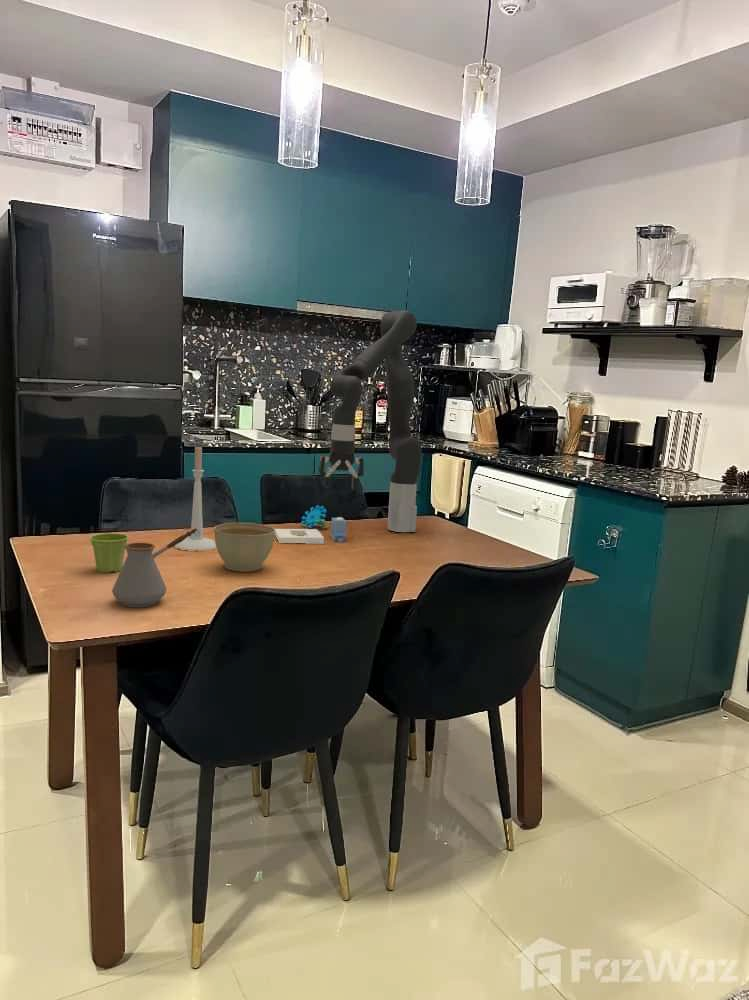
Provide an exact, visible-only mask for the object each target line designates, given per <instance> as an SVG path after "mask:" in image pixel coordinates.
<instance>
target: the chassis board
mask: <svg viewBox="0 0 749 1000" xmlns="http://www.w3.org/2000/svg"><path fill="white" fill-rule="evenodd" d="M274 529H275V535H276V537H277V539H278V541H279V542H278V541H277V542H278V544H279V543H306V544H305V545H313V544H314V545H319V544H321V545H324V544H325V543H324V542H325V537H324V536H323V534H322V533H321V532H320V531H319V530H318V529H317V528H311V529H309V528H274ZM275 535H274V536H275ZM297 535H304V536H297ZM276 537H275V538H276ZM277 539H276V540H277Z"/></svg>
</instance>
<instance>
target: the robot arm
mask: <svg viewBox="0 0 749 1000" xmlns="http://www.w3.org/2000/svg"><path fill="white" fill-rule="evenodd" d="M417 324H418V322H417V317H416V316H415V314H414V313H413V312H412V311H411V310H410V311H409V310H407V309H405V310H403V309H401V310H395V311H394V310H393V311H387V312H385V313H384V314H383V315H382V316H381V320H380V335H381V338H378V340H376V341H374V342H373V343H371V344H370V345H369V346H367V347H366V348H364V349H363V350H362V351H361V352H360V354H358V355H357V357H356V358H355V359H354V360H353V361H352V362H351V364H349V365H347V366H345V367H344V368H343V369H342V370H340V371H339V372H337V373H336V374H335V375H334V376H333V378H332V379H331V381H330V385H329V389H330V393H331V394H332V395H333V396H334V397H336V398H340V399H341V398H343V399H342V402H341V404H340V405H337V406H334V408H333V414H332V415H333V417H332V418H333V419H332V427H331V435H330V436H331V438H330V439H331V440H330V453H329V454H330V455H329V456H325V455H320V458H319V467H318V474H319V475H320V476H323V477H324V478H323V486H324V487H325V489H327V490H329V489H330V476H331V475H332V473H333V472H334V471H335V470H336V471H345V472H347V471H349V473H350V474H351V475H352V477H351V490H356V488H358V479H359V478H361V477H363V476H364V475H365V474H364V471H365V470H364V464H365V462H364V458H363V457H361V456H360V457H355V444H356V443H355V442H356V441H355V440H356V414H357V413H356V412H357V410H358V407H359V404H360V403H359V402H360V400H361V397H362V393H363V384H362V381H365V380H367V379H368V378H369V377H370V376H371V375H372V374H373V373H374V372H375V370H377V368H378V367H379V366H380V365H381V363H382V362H383V361H385V373H386V374H385V375H386V392H387V393H386V395H387V405H388V416H389V435H388V436H389V437H388V438H389V442H388V448H389V449H388V452H389V454H390V456H391V458H392V459H393V460H394V461H395V468H394V471H393V472H392V473H391V475H390V483H389V496H388V497H389V499H388V513H387V514H388V515H387V528H388V529H389V530H392V531H396V532H412V531H413V532H414V531H415V532H416V528H417V527H416V526H417V511H418V506H417V505H416V502H417V501H416V498H417V483H418V478H419V476H420V474H421V473H420V471H421V464H422V446H421V443H420V442H419V441H418V439H416V438H414V437H412V436H411V427H410V421H411V414H412V409H413V406H414V402H415V384H414V383H415V382H414V376H413V374H412V371H411V369H410V368H409V366H408V363H406V361H405V358H404V356H403V353H402V347H401V345H402V344H403V343H405V342H406V341H407V340H409V339H410V338H411V337H412V336H413V335H414V334H415V332H416V330H417ZM328 461H329V463H330V465H329V466H328V468H327V469H326V471H325V464H327V463H328ZM355 463H356V465H357V466H358V467H357V471H355V469H354V467H353V466H354V465H353V464H355Z"/></svg>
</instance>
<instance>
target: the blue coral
mask: <svg viewBox="0 0 749 1000" xmlns="http://www.w3.org/2000/svg"><path fill="white" fill-rule="evenodd" d="M327 512H328V511H327V509H326V508H325V507H324V505H321V506H320V505H318V504H317V505H316V506H315V507H314V506H313V507H310V511H308V510H306V511H305V512H304V514H305V515H306V516H305V515H302V517H301V520H302V521H301V522H300V525H302V524H304V525H305V526H307V528H308V527H314V528H315V527H318V526H319V525H321V527H323V528H324V529H325V528H328V527H327V525H326V523H327V522H326V520H325V518H326V517H327V514H326V513H327ZM318 524H319V525H318Z"/></svg>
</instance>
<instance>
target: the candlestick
mask: <svg viewBox="0 0 749 1000" xmlns="http://www.w3.org/2000/svg"><path fill="white" fill-rule="evenodd" d="M202 457H203V448H202V447H201V446H199V445H198V446H197V447H194V469H192V470H191V471H192V473H193V474H192V476H193V477H194V482H193V495H192V496H193V497H192V511H191V512H192V513H191V526H190V531H191V530H193V529H195V528H196V529H197V530H198V531H199V532H200V534H199V532H198V531H196V532H195V533H196V534H197V535H198V536H196V535H195V533H192V534H191V536H190V537H189V536H188V537H187V538H186V539H184V540H183V541H182V542H180V543H178V544H177V545H175V547H177V548H180V549H186V550H210V549H215V548H216V544H215V539H214V540H213V539H212V538H208V537H204V533H203V532H204V529H203V527H204V526H203V502H202V501H203V497H202V496H203V495H202V494H203V493H202V478H203V476H204V474H203V473H204V472H205V470H204V469H202V467H203V465H202V464H203V461H202V460H203V458H202ZM199 535H200V536H199ZM215 550H216V549H215Z"/></svg>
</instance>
